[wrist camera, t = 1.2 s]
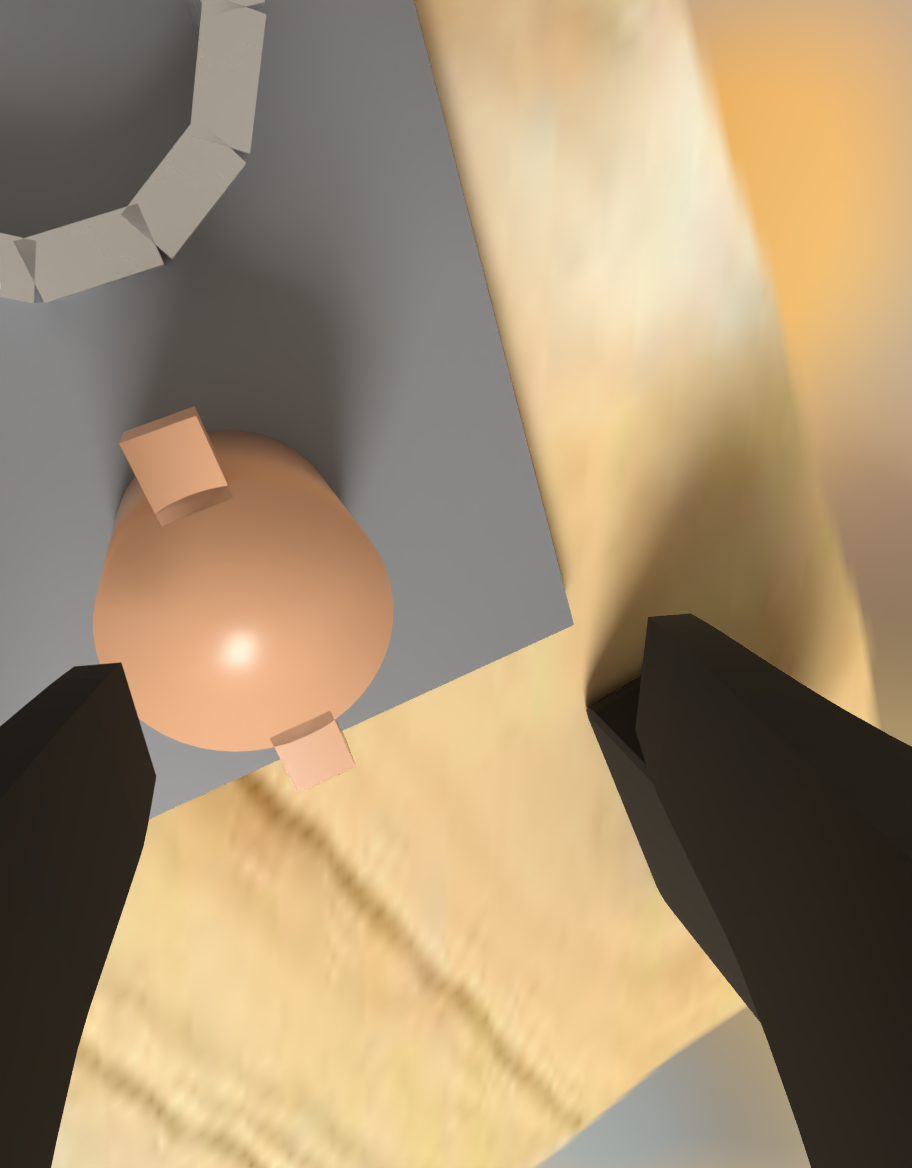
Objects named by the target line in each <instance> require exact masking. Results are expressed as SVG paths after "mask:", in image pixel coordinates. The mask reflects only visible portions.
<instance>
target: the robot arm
mask: <svg viewBox="0 0 912 1168" xmlns="http://www.w3.org/2000/svg"><path fill="white" fill-rule="evenodd" d="M635 731H636V734H637V737H638V740H639V743H640V746H641V749H642V753H643V756H644V759H645V762H646V765H647V768H648V771H649V774H650V776H651V779H652V782H653V785H654V788H655V791H656V793H657V795H658V797H659V800H660V802H661V804H662V806H663V808H664V810H665V812H666V814H667V816H668V818H669V821H670V823H671V825H672V827H673V829H674V831H675V833H676V835H677V837H678V839H679V841H680V843H681V845H682V847H683V849H684V851H685V853H686V855H687V857H688V859H689V861H690V863H691V866H692V868H693V870H694V872H695V874H696V876H697V878H698V880H699V882H700V884H701V886H702V888H703V890H704V892H705V894H706V896H707V898H708V900H709V902H710V904H711V906H712V908H713V910H714V912H715V914H716V916H717V918H718V920H719V922H720V924H721V926H722V928H723V930H724V932H725V935H726V937H727V939H728V941H729V944H730V946H731V948H732V950H733V953H734V955H735V957H736V959H737V962H738V964H739V966H740V969H741V971H742V974H743V977H744V979H745V982H746V985H747V987H748V990H749V993H750V995H751V998H752V1001H753V1003H754V1006H755V1009H756V1011H757V1014H758V1017H759V1019H760V1022H761V1025H762V1027H763V1030H764V1032H765V1035H766V1038H767V1040H768V1043H769V1046H770V1049H771V1052H772V1054H773V1057H774V1060H775V1063H776V1066H777V1069H778V1072H779V1074H780V1077H781V1080H782V1083H783V1086H784V1089H785V1091H786V1094H787V1097H788V1100H789V1103H790V1106H791V1108H792V1111H793V1114H794V1117H795V1120H796V1123H797V1125H798V1128H799V1131H800V1134H801V1138H802V1141H803V1144H804V1147H805V1150H806V1153H807V1156H808V1159H809V1162H810V1165H811V1168H912V747H911V746H909V745H907V744H905V743H904V742H901V741H900V740H898V739H896V738H894V737H892V736H890V735H888V734H887V733H885V732H883V731H881V730H880V729H878V728H876V727H874V726H872V725H871V724H869V723H867V722H865V721H863V720H862V719H860V718H858V717H856V716H855V715H853V714H851V713H849V712H847V711H846V710H844V709H842V708H841V707H839V706H837V705H836V704H834V703H832V702H831V701H829V700H827V699H825V698H824V697H822V696H820V695H819V694H817V693H816V692H814V691H812V690H811V689H809V688H807V687H806V686H804V685H803V684H801V683H799V682H798V681H796V680H795V679H793V678H791V677H790V676H788V675H787V674H785V673H784V672H782V671H780V670H779V669H777V668H776V667H774V666H773V665H771V664H770V663H768V662H766V661H765V660H763V659H762V658H760V657H759V656H757V655H756V654H754V653H753V652H751V651H750V650H748V649H747V648H745V647H743V646H742V645H740V644H739V643H737V642H736V641H734V640H733V639H731V638H730V637H728V636H727V635H725V634H723V633H722V632H720V631H719V630H717V629H716V628H714V627H712V626H711V625H709V624H708V623H706V622H704V621H703V620H701V619H699V618H697V617H696V616H694V615H692V614H680V615H668V616H657V617H648V623H647V632H646V641H645V649H644V658H643V667H642V676H641V684H640V693H639V702H638V710H637V719H636V728H635ZM155 782H156V774H155V770H154V767H153V764H152V761H151V757H150V754H149V751H148V747H147V744H146V741H145V738H144V734H143V731H142V728H141V725H140V721H139V718H138V715H137V712H136V708H135V705H134V702H133V699H132V695H131V692H130V689H129V685H128V682H127V679H126V676H125V672H124V669H123V666H122V663H121V662H119V663H108V664H96V665H84V666H74V667H73V668H71V669H70V670H69V671H67V672H66V673H65V674H63V675H62V676H60V677H59V678H58V679H57V680H55V681H54V682H53V683H52V684H50V685H49V686H48V687H47V688H45V689H44V690H43V691H42V692H41V693H39V694H38V695H37V696H36V697H34V698H33V699H32V700H31V701H30V702H29V703H27V704H26V705H25V706H24V707H23V708H21V709H20V710H19V711H18V712H17V713H15V714H14V715H13V716H12V717H11V718H9V719H8V720H7V721H6V722H5V723H3V724H2V725H1V726H0V1168H51V1165H52V1160H53V1155H54V1150H55V1146H56V1141H57V1136H58V1132H59V1127H60V1123H61V1119H62V1114H63V1110H64V1106H65V1101H66V1097H67V1093H68V1088H69V1084H70V1079H71V1075H72V1071H73V1066H74V1062H75V1058H76V1053H77V1049H78V1046H79V1042H80V1039H81V1036H82V1032H83V1029H84V1025H85V1022H86V1018H87V1015H88V1012H89V1008H90V1005H91V1002H92V999H93V996H94V994H95V991H96V988H97V985H98V982H99V979H100V976H101V973H102V970H103V967H104V964H105V961H106V958H107V955H108V952H109V949H110V946H111V943H112V940H113V937H114V934H115V931H116V928H117V925H118V922H119V919H120V916H121V913H122V910H123V907H124V904H125V901H126V898H127V895H128V892H129V889H130V886H131V883H132V880H133V877H134V874H135V871H136V868H137V865H138V862H139V859H140V855H141V852H142V849H143V846H144V841H145V836H146V831H147V826H148V821H149V816H150V811H151V805H152V799H153V794H154V788H155Z"/></svg>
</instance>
